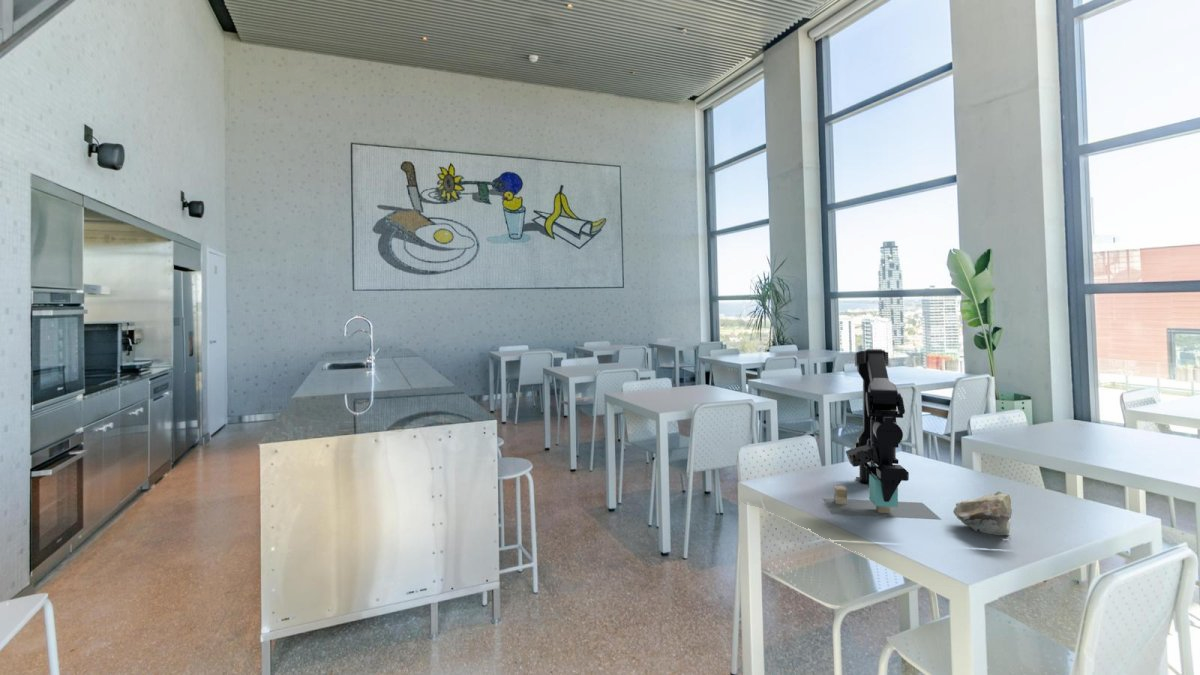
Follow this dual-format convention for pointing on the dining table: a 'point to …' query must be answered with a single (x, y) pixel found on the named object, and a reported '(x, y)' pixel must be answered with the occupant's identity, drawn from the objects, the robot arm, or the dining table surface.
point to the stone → (986, 513)
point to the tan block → (840, 495)
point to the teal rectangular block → (880, 493)
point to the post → (883, 509)
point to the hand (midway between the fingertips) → (882, 497)
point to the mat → (870, 510)
